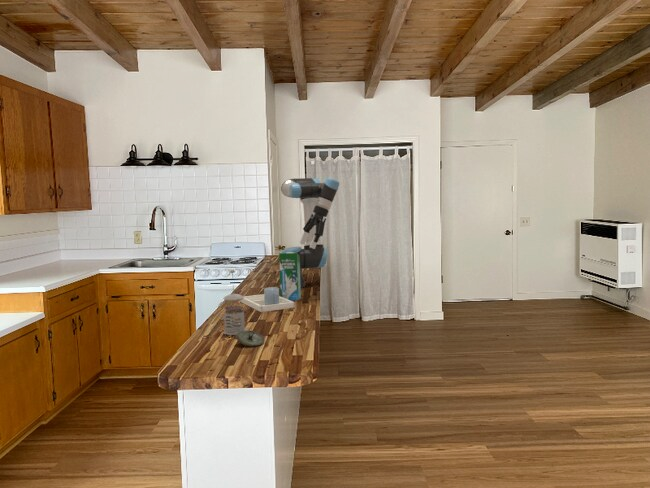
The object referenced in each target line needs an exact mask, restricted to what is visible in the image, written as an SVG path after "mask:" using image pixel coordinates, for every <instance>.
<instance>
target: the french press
mask: <svg viewBox="0 0 650 488" xmlns="http://www.w3.org/2000/svg"><path fill="white" fill-rule="evenodd" d="M235 272H236V271H235V269H231V270H230V271H229V273H231V274H232V275H231V276H232V278H234V273H235ZM243 298H244V296H243V295H242V294H240V293H239V294H238V293H235V290H234V286H232V293H231V294H227V295H225V296H224V297H223V301H221V302H219V303H218V306H217V311H218V312H217V314H218V316H219V318H220V319H222V320H224V330H223V331H222V334H224V335H226V334H227V335H228V336H236V334H237V333H238V332H240V331H248V329H246V328H245V325H246V323H245V310H243V309H244V307H243V306H242V305H231V306H226V307H225V308H224V310H226V311H223V313H224V316H223V315H222V313H221V305H222V303H223V305H224V306H225V305H227V301H229V302H230V301H231V302H232V301H233V302H235V301H236V302H237V301H241V300H242V299H243ZM227 335H226V336H227Z"/></svg>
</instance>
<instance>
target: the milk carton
mask: <svg viewBox="0 0 650 488" xmlns="http://www.w3.org/2000/svg"><path fill="white" fill-rule="evenodd" d="M278 258H279V259H278V260H279V294H280V297H283V298H285V299H288V300H290V301H299V300H300V299H302V295H301V294H302V290H301V289H302V288H301V284H300V256H299V255H298V254H297V253H294V252H286V253H282V252H281V253H279V255H278Z"/></svg>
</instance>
